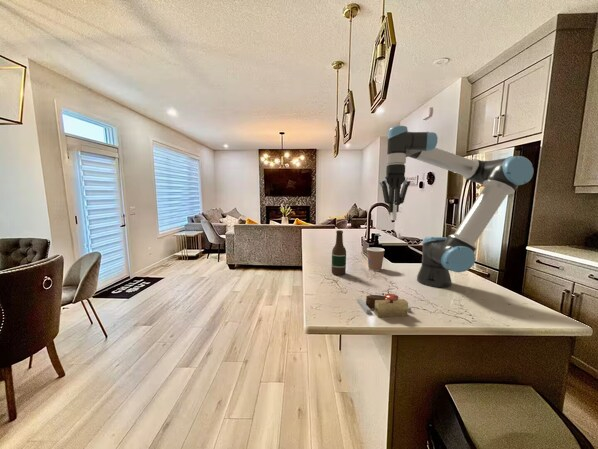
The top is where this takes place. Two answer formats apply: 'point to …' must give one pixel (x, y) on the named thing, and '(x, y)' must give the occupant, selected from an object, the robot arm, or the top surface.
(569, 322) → the top surface
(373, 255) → the coffee cup
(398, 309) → the red dome button
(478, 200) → the robot arm
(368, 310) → the rails
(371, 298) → the brick
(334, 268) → the beer bottle
